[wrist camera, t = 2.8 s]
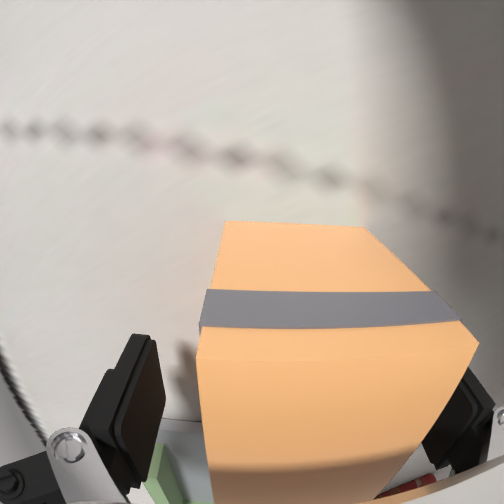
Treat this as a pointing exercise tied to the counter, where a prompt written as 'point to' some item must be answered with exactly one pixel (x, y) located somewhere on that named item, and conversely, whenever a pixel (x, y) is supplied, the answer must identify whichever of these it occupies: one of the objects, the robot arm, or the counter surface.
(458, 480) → the robot arm
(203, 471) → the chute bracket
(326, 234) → the chute block
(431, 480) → the pliers
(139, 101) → the counter surface
